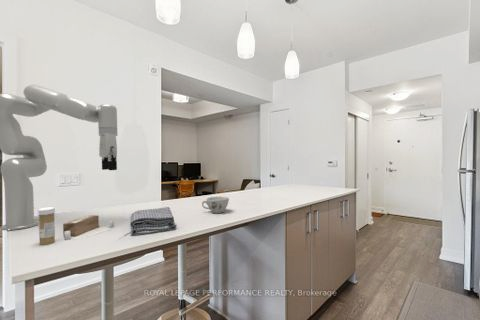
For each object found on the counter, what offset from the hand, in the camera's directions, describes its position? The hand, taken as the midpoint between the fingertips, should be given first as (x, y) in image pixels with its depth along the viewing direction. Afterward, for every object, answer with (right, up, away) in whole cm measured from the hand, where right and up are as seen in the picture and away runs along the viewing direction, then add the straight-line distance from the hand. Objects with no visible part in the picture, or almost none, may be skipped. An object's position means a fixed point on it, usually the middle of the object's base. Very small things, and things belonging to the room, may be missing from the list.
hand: (109, 169), depth 108 cm
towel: (+22, -26, -4) cm, 34 cm away
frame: (-5, -25, -10) cm, 28 cm away
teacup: (+46, -25, +24) cm, 58 cm away
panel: (-3, -26, -10) cm, 28 cm away
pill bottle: (-10, -27, -23) cm, 36 cm away
